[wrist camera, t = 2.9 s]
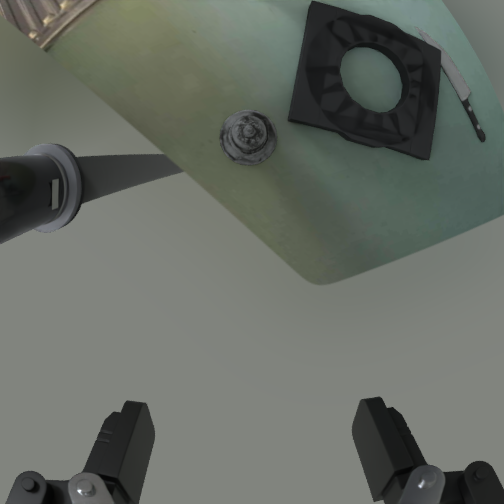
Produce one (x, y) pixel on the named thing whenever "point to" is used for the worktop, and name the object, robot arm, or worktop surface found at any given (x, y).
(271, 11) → the worktop surface
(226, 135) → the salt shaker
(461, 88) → the chef's knife
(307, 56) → the black pad
